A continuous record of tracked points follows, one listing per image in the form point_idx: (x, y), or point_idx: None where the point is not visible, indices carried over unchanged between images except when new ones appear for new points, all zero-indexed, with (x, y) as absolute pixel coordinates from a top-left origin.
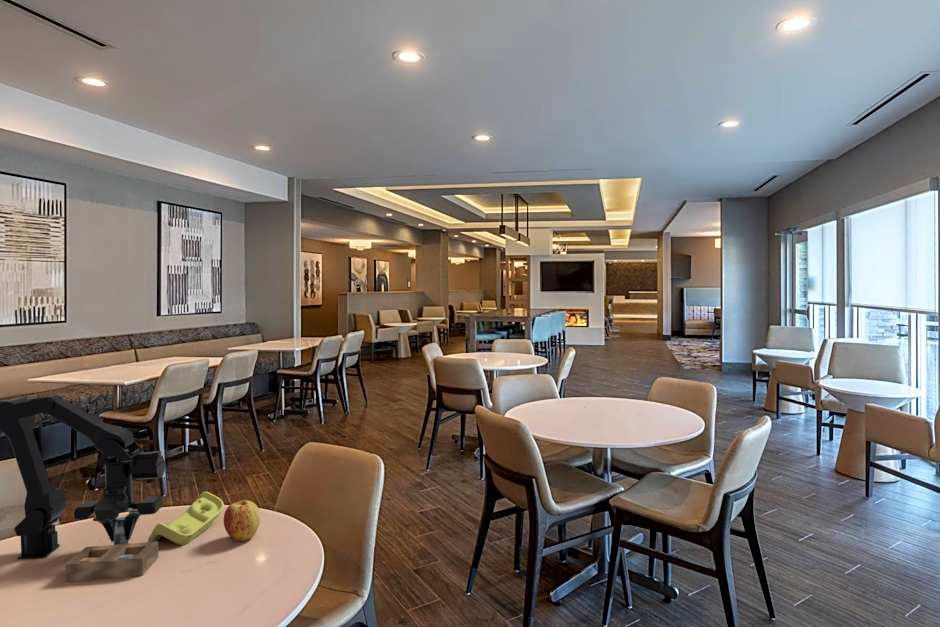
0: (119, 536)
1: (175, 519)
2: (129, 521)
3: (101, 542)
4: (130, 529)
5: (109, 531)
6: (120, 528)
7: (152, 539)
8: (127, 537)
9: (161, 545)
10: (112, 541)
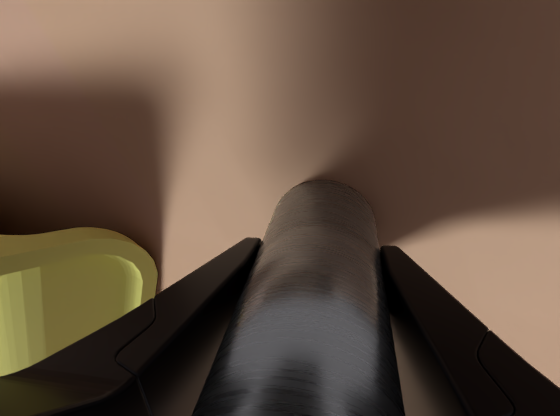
0: (296, 241)
1: None
2: (61, 383)
3: (510, 331)
4: (162, 293)
5: (432, 313)
6: (265, 313)
7: (78, 227)
8: (242, 249)
9: (34, 179)
10: (388, 246)
